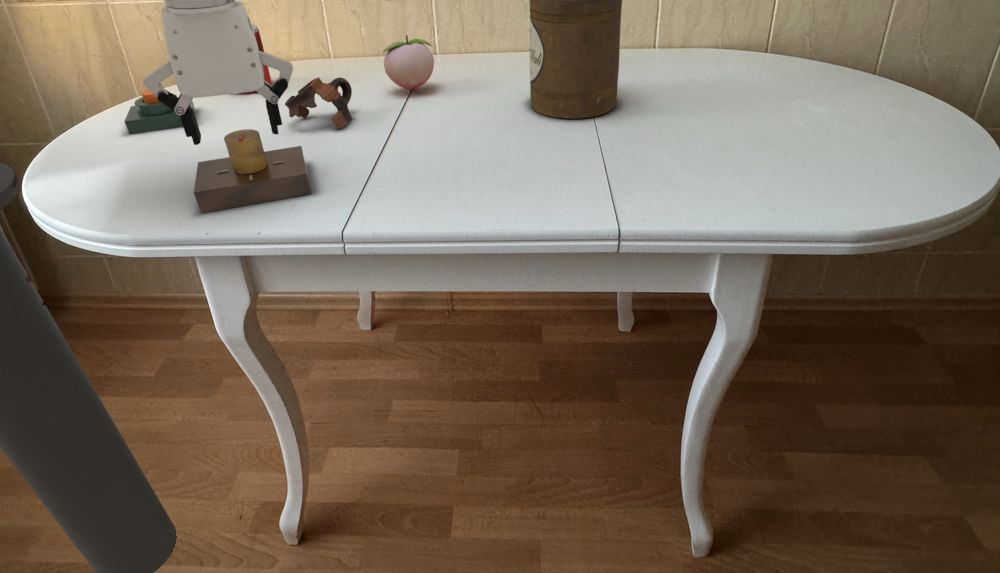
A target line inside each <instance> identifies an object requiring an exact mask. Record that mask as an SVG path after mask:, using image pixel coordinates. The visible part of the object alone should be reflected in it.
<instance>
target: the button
mask: <svg viewBox="0 0 1000 573" xmlns="http://www.w3.org/2000/svg"><path fill="white" fill-rule="evenodd" d="M140 95H141V97H143V100H144V102H145V103H157V102H160V101H159V100H158V98H157V97H156V96H155V95H153V94H152V93H151V92H150V91H149V90H148V89H145V90H143V91H141V94H140Z"/></svg>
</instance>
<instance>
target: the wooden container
mask: <svg viewBox="0 0 1000 573" xmlns="http://www.w3.org/2000/svg"><path fill="white" fill-rule="evenodd" d="M622 4H623V0H529V87H530V89H529V90H530V92H529V93H530V106H531V108H532V110H534V111H535V112H537V113H538V114H541V115H544V116H546V117H547V116H548V117H550V118H551V117H552V118H557V119H568V120H570V119H571V120H572V119H573V120H574V119H575V120H576V119H588V118H593V117H598V116H601V115H604V114H607V113H609V112H610V111H612V110H613V109H614V108H616V105H617V99H618V84H619V70H620V52H621V51H620V50H621V49H620V46H621V23H622V22H621V21H622V8H623V7H622V6H623V5H622Z"/></svg>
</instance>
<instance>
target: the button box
mask: <svg viewBox="0 0 1000 573" xmlns="http://www.w3.org/2000/svg"><path fill="white" fill-rule="evenodd" d="M171 93H172V92H171ZM172 94H173V95H175V96H177V94H175V93H172ZM189 106H191V108H193V110H194V114H195V115H196V108H195V105H194V101H193V100H192V101H191V103H190V105H189ZM124 124H125V127H126V129H127V132H128V134H129V135H133V134H140V133H146V132H154V131H160V130H167V129H173V128H174V129H175V128H183V124H182V121H181V118H180V115H178V114H176V113H175V111H174V110H172V109H171V108H169V107H167V106H166V105H164V104H163V103H161V102H157V103H145V102H144V100H143V97H142V96H141V97H139V98H137V99H136V100H135V101H134V105H131V106H130V107H129V110H128V113H127V114H126V117H125V119H124Z"/></svg>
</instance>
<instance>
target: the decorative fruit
mask: <svg viewBox="0 0 1000 573" xmlns="http://www.w3.org/2000/svg"><path fill="white" fill-rule="evenodd" d="M428 46H430V47H432V44H431V43H430V42H429V41H427V40H425V39H421V38H413V39H410V40H409V38H408V34H405V42H404V41H394V42H391V43H389V44H387V46H385V48H384V49H383V51H382V53H385V55H384V57H383V68H384V71H385V73H386V75H387V77H388V78H389V80H390V81H392V83H394V84H395V85H397V86H398V87H400V88H402V89H404V90H408V91H410V92H412V91H415V90H416V89H418V88H419V87H421V86H423V85H424V84H425V83H427V82H428V81H429V80H430V78H431V77H432V74H433V73H434V67H435V59H434V55H433V53H432V51H431V50H430V48H428Z"/></svg>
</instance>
